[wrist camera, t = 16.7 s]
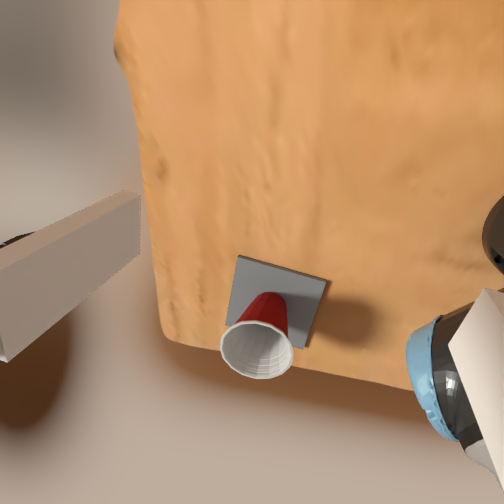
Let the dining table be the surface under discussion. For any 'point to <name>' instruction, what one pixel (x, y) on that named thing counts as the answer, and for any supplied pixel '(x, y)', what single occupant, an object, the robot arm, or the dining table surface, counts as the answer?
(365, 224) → the dining table surface
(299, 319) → the rest mat
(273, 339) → the plastic cup
